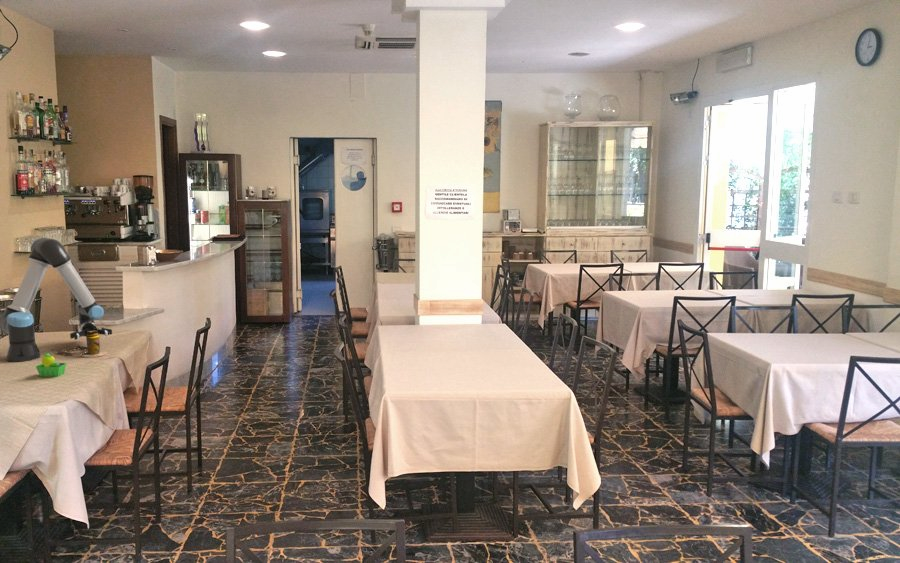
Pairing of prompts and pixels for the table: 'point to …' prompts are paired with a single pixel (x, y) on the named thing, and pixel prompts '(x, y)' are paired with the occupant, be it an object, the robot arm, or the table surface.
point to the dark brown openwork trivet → (72, 349)
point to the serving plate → (96, 355)
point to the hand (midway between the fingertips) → (93, 336)
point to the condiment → (92, 343)
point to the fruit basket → (50, 367)
